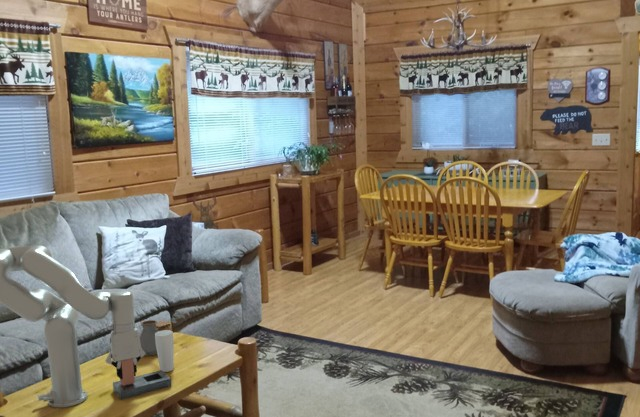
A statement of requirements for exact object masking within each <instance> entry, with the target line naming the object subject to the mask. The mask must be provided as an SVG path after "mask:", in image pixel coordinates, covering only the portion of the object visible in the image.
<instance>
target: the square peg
mask: <svg viewBox="0 0 640 417" xmlns="http://www.w3.org/2000/svg"><path fill="white" fill-rule="evenodd" d="M121 368H122V377H123V379H120V378H119V381H120V382H121V383H122V384H123V385H127V384H131V383H135V378H134V377H135V376H134V364H133V358H132V359H128V360H123V361H121Z"/></svg>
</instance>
